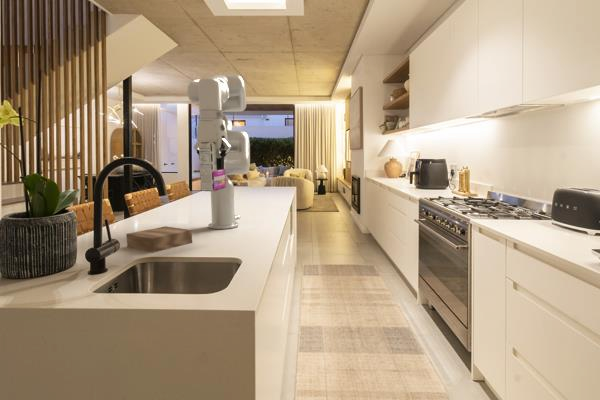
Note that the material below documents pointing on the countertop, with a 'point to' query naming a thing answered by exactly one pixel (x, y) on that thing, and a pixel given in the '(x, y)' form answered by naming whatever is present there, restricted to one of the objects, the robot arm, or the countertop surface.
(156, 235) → the walnut block
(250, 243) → the countertop surface
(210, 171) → the candy bar box
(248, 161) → the robot arm
